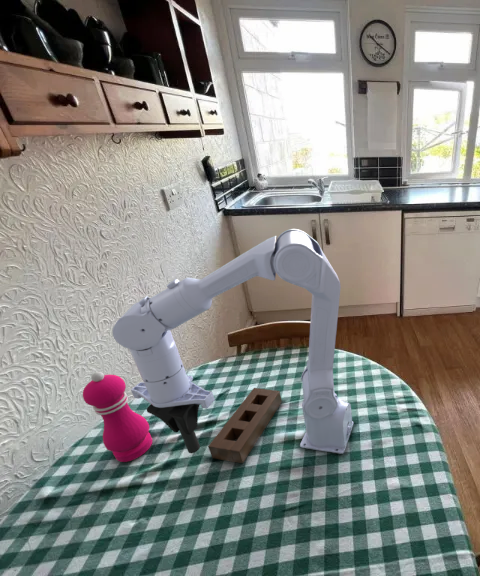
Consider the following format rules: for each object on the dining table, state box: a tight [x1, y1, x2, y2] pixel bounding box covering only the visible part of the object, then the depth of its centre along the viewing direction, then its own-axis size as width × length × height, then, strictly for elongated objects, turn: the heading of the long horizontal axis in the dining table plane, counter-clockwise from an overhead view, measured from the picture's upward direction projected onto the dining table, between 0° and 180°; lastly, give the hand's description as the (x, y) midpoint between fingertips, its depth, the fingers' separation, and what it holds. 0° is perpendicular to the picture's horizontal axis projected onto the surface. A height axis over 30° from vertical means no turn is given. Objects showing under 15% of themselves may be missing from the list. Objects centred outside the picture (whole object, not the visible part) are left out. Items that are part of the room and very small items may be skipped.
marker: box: [174, 418, 201, 454], centre depth 58 cm, size 2×2×9 cm
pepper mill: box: [82, 371, 153, 463], centre depth 61 cm, size 7×7×20 cm
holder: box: [207, 387, 283, 464], centre depth 69 cm, size 7×16×4 cm, turn 170°
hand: (186, 428), depth 57 cm, fingers closed on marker, 2 cm apart
